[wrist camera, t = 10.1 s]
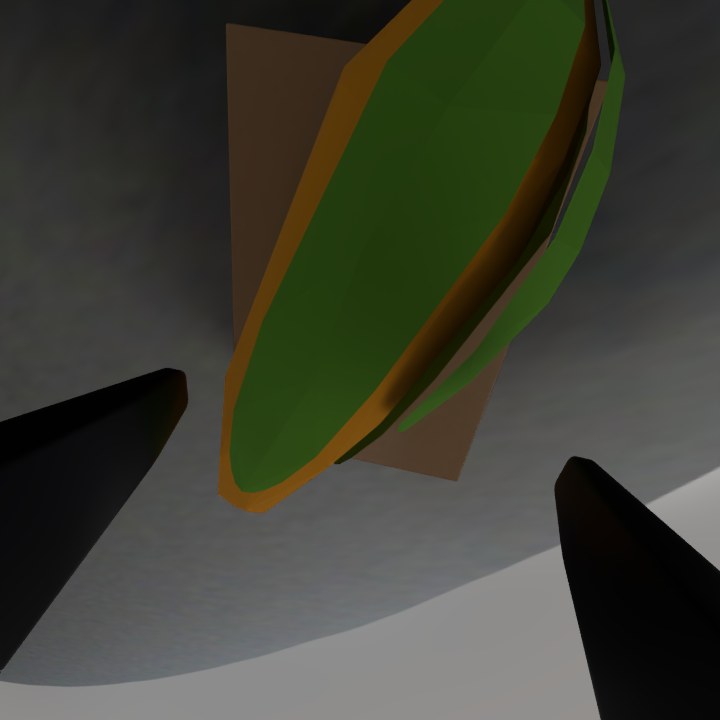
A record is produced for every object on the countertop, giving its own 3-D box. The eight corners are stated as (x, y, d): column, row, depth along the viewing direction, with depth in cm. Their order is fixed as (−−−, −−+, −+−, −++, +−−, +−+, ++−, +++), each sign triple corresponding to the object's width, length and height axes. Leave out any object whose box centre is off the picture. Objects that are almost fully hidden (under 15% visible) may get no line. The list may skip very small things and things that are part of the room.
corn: (932, 10, 5) (283, 644, 15) (652, 96, 11) (338, 491, 21) (390, -387, 4) (104, 545, 14) (432, -55, 11) (217, 421, 21)
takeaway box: (279, 52, 16) (224, 22, 12) (561, 96, 16) (611, 80, 11) (269, 381, 25) (235, 433, 20) (452, 420, 24) (457, 482, 20)
